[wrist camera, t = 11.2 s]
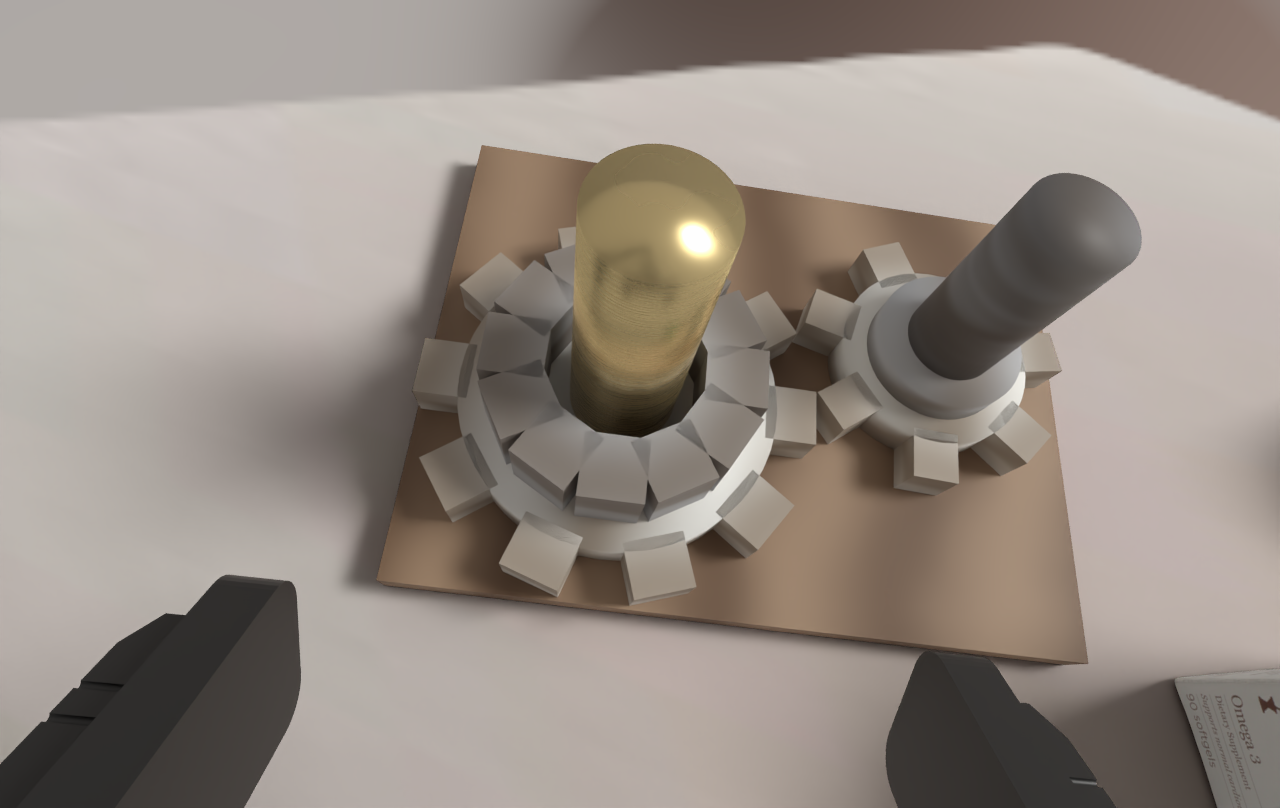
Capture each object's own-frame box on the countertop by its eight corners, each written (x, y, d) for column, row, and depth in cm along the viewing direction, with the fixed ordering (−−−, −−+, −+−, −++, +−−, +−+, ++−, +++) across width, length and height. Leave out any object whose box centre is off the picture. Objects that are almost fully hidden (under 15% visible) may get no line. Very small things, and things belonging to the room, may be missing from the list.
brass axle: (562, 436, 23) (565, 270, 14) (577, 340, 25) (588, 132, 15) (669, 450, 23) (741, 296, 14) (678, 354, 25) (748, 157, 16)
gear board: (384, 585, 23) (256, 509, 14) (484, 164, 30) (448, -90, 20) (1064, 664, 25) (1400, 648, 15) (1012, 246, 32) (1217, 45, 22)
